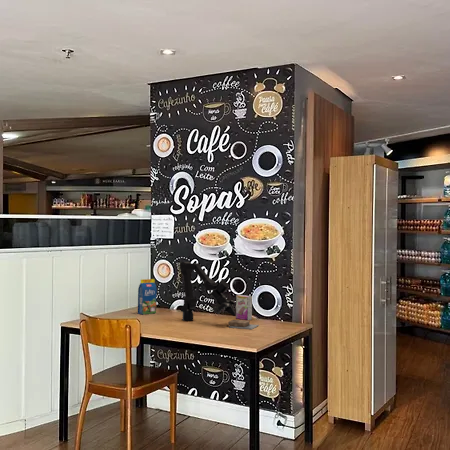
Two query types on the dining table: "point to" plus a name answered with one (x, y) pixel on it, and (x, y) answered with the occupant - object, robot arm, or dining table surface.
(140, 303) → the blue food package
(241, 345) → the dining table surface
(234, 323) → the walnut tile
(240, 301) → the candy bar box
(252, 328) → the slate board
